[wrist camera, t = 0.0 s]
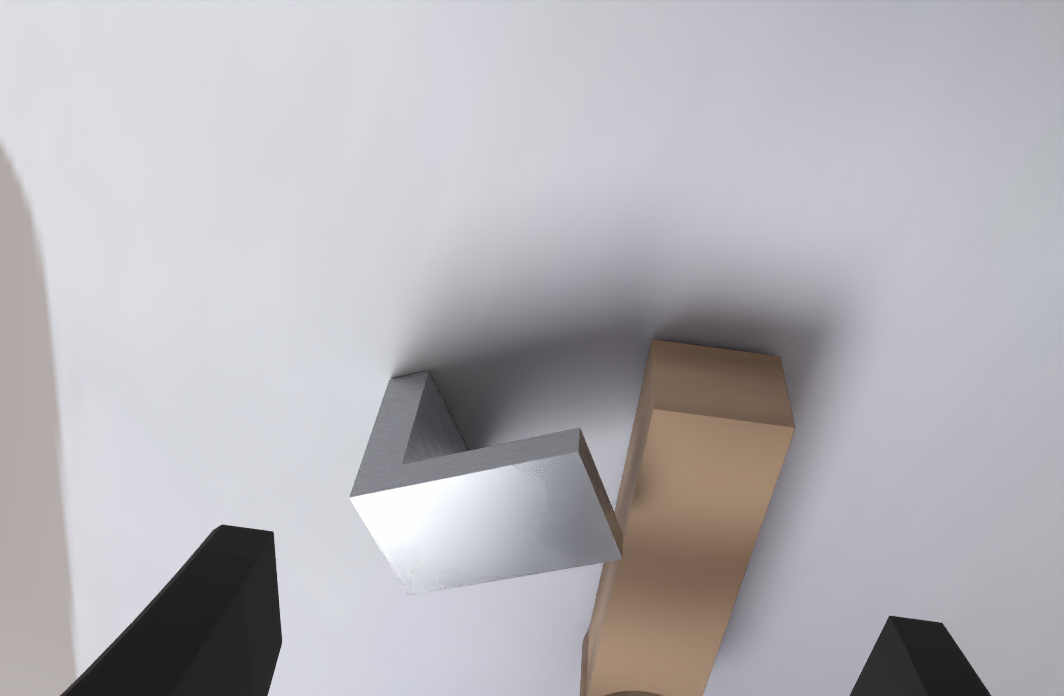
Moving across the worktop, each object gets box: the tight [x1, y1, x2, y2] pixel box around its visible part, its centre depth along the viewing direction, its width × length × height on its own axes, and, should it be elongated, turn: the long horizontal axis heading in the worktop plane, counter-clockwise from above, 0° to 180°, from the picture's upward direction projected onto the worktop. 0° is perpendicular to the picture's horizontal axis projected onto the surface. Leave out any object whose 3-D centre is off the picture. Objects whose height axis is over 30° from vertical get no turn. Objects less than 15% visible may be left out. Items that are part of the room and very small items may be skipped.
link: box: [580, 339, 795, 696], centre depth 23 cm, size 12×3×3 cm, turn 174°
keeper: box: [350, 371, 623, 595], centre depth 21 cm, size 3×5×4 cm, turn 109°
